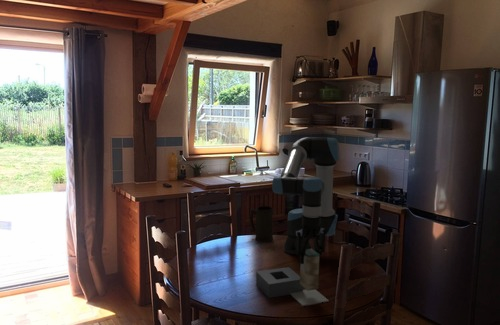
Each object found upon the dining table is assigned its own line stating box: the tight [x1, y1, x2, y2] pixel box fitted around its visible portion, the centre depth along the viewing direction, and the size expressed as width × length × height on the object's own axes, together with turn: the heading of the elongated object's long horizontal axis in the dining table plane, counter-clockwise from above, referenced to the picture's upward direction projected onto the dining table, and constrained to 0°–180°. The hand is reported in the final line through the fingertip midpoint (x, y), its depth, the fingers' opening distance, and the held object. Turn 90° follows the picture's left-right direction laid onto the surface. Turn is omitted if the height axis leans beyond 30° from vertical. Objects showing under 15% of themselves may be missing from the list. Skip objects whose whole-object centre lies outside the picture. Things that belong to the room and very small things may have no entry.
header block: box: [255, 266, 304, 299], centre depth 179 cm, size 16×14×6 cm
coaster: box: [290, 289, 329, 307], centre depth 171 cm, size 12×12×1 cm
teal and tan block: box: [299, 248, 320, 291], centre depth 170 cm, size 5×6×15 cm
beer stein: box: [248, 205, 274, 243], centre depth 245 cm, size 15×11×20 cm
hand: (309, 269), depth 170 cm, fingers closed on teal and tan block, 5 cm apart
